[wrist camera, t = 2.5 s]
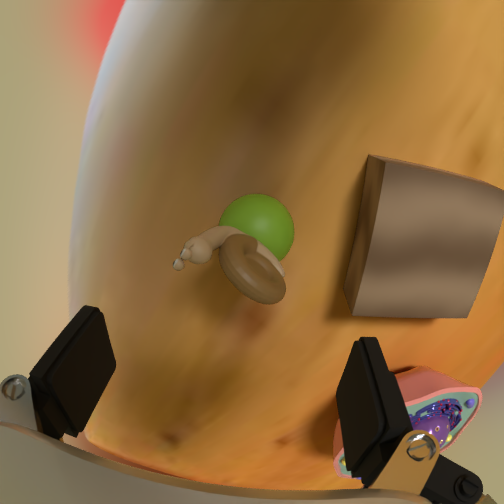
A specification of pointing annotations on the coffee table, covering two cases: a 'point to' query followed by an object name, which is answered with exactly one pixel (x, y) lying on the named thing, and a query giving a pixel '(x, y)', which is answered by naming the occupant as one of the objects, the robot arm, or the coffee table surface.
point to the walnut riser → (421, 241)
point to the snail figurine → (248, 246)
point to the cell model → (427, 409)
